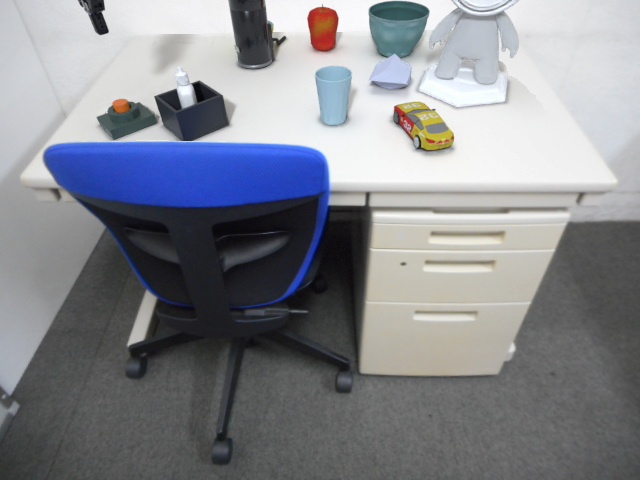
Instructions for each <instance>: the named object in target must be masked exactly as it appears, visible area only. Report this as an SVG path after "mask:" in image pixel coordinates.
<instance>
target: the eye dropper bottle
mask: <svg viewBox="0 0 640 480" xmlns="http://www.w3.org/2000/svg"><path fill="white" fill-rule="evenodd" d="M174 76H175V80H176V83H177V87H176V88H177V93H178V96H179V100H180V103H181V107H182V109H183V108H186V107H188V106H191V105H194V104H196V103H197V99H196V95H195V91H194V88H193V85H192V84H191V83H192V82H190V78H189V75H188V72H187V71H185V70H183V67H182V65H178V66H177V72H176V73H175V74H174Z"/></svg>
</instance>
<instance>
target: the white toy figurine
mask: <svg viewBox="0 0 640 480" xmlns="http://www.w3.org/2000/svg"><path fill="white" fill-rule="evenodd" d="M450 1H451V2H452V4H453V5H455V6H456V8H454V9H453V10H451V11H450V12H449V13H448V14H447V15H446V16H445V17H444V18H442V19H441V21H440V22H438V23H437V25H435V27H434V29H433V30H432V32H431V34H430V35H429V38H428V39H429V40H428V48H429V49H430V50H433V49H434V48H435V45H436V44H437V43H438V42H439V45H440V46H443V45H444V43H445V41H446V39H447V41H446V43H445V45H444V47H443V49H442V51H441V55H440V56H439V59H438V62H437V64H431V65H429V66H428V67H427V68H426V69H425V72H424V75H423V77H422V79H421V82H420V84H419V86H418V92H421V93H422V94H425V95H427V96H430V97H432V98H434V99H437V100H439V101H441V102H444V103H445V104H448V105H451V106H453V107H455V108H465V107H474V106H482V105H491V104H492V105H493V104H499V103H500V104H501V103H505V101H506V96H507V88H508V77H507V75H506V74H505V73H503V72H501V71H499V61H500V57H499V56H500V41H501V52H502V53H505V52H506V49H508V51H509V58H510V59H513V58H515V56H516V55H517V53H518V51H519V47H520V39H519V35H518V31H517V29H516V27H515V25H514V23H513V21H512V19H511V17H510V16H509V15H508V14H507V12H505V11H506V10H508V9H510V8H511V7H513V6H514V5H515V4H517V3H518V2H520V0H450ZM450 32H451V33H450ZM449 34H450V35H449ZM448 35H449V37H448ZM499 36H500V39H499ZM447 37H448V38H447ZM464 59H466V61H464ZM470 60H474V62H472V61H470Z"/></svg>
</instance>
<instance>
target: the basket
mask: <svg viewBox="0 0 640 480" xmlns="http://www.w3.org/2000/svg"><path fill="white" fill-rule="evenodd" d="M190 83H191V84H192V85H193V88H194V91H195V95H196V99H197V103H196V104H194V105H191V106H188V107H186V108H183V109H182V107H181V103H180V100H179V96H178V93H177V87H176V88H173V89H171V90H168V91H165V92H162V93H159V94H157V95H154V96H153V99H154V101H155V104H156V107H157V110H158V113H159V117H160V120H161V123H162V125H163V127H164V128H165V129H167V130H168V131H169V132H170V133H171V134H173V135H174V136H175V137H176V138H178V140H180V141H181V142H182V141H190V142H192V141H194V140H197V139H199V138H202V137H204V136H206V135H209V134H211V133H213V132H216V131H219V130H222V129H223V128H225V127H228V126H229V125H230V124H229V118H228V113H227V108H226V103H225V100H224V95H223V94H222V93H220V92H218V91H217V90H215V89H214V88H212V87H211V86H210V85H208V84H206V83H204V82H203V81H202V80H196V81H194V82H190Z"/></svg>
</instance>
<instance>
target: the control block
mask: <svg viewBox="0 0 640 480" xmlns="http://www.w3.org/2000/svg"><path fill="white" fill-rule="evenodd" d="M128 103H129V106H130V109H129V110H128V111H125V112H119V113H118V112H115V110H114V107H113V105H112V104H111V105H110V106H109V107H108V108H107V111H106V113H104V114H101V115H97V116H96V120H97V121H98V124H99V126H100V127H101V128H102V129H103V130H104V132H106V133H107V135H109V136H110V138H111V139H112V140H117V139H120V138H122V137H124V136H127V135H130V134H133V133H135V132H138V131H140V130H144V129H146V128H148V127H151V126H153V125H156V124H157V123H158V122H157V121H158V120H157V119H156V115H155V113H153V111H150V110H149V109H148V108H147V107H146V106H145V105H144V104H143V103H141V102H140V101H138V102H134V101H129V100H128Z"/></svg>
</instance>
